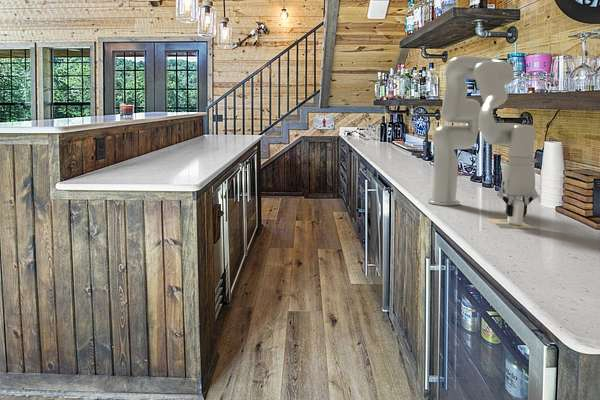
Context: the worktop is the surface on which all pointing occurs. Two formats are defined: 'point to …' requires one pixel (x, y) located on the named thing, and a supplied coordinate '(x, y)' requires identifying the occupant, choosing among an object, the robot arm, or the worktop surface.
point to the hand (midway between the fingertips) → (515, 215)
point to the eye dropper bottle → (517, 211)
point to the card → (507, 224)
